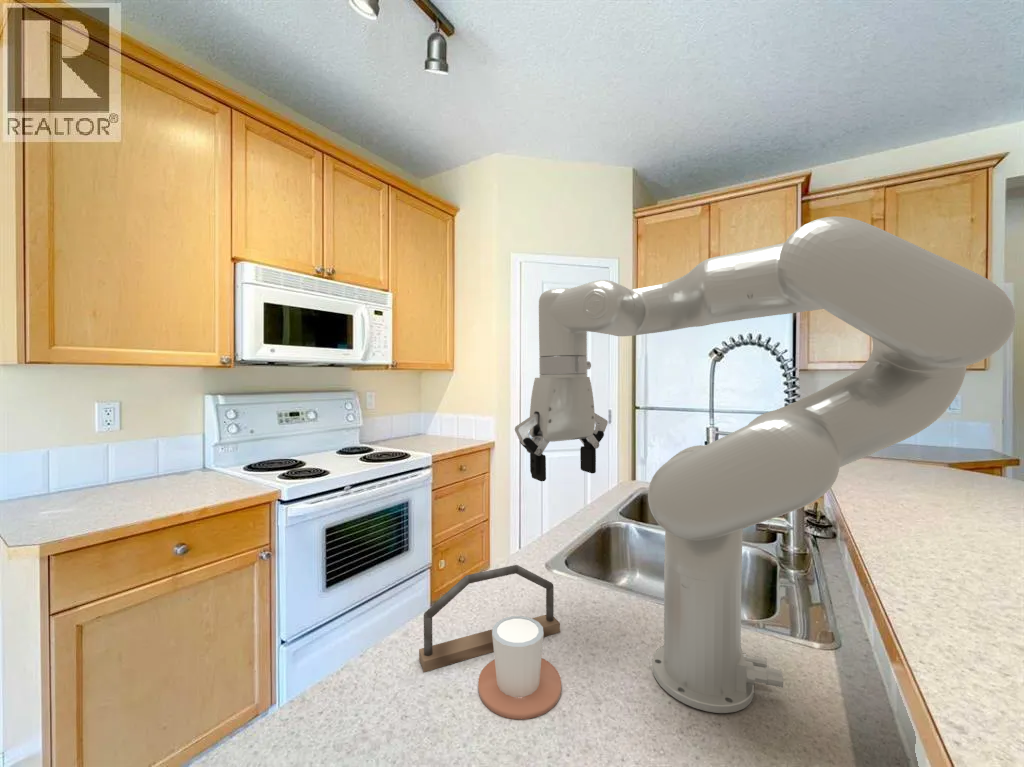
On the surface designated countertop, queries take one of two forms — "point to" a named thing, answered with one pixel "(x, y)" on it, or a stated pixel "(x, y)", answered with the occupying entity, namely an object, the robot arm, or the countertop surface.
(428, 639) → the arched handle
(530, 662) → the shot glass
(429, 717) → the countertop surface
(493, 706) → the coaster
